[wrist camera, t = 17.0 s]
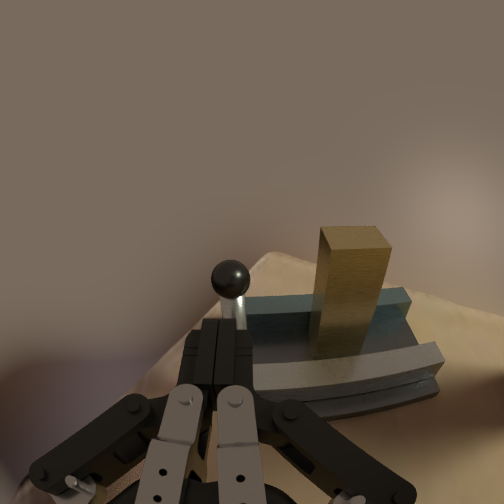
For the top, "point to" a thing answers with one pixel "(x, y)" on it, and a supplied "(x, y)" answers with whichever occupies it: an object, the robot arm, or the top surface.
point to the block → (346, 288)
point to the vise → (377, 340)
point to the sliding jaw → (322, 371)
